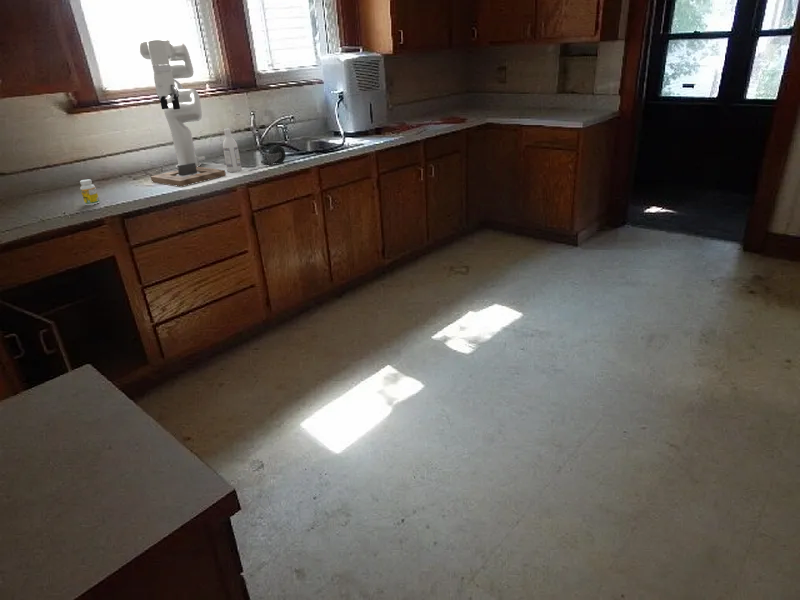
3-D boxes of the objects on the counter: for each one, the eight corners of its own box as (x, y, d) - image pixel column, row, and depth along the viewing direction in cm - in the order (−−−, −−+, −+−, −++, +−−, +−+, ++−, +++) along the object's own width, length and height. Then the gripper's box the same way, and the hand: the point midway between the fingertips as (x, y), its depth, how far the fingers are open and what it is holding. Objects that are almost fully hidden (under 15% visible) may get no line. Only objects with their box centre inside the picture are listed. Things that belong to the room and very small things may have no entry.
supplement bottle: (102, 203, 216) (95, 179, 212) (89, 206, 212) (81, 182, 208) (95, 201, 219) (88, 178, 215) (82, 204, 215) (75, 181, 211)
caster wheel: (280, 163, 278) (258, 166, 267) (279, 144, 275) (256, 146, 264) (288, 164, 275) (265, 167, 264) (286, 144, 272) (264, 146, 260)
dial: (173, 178, 252) (170, 164, 249) (196, 174, 258) (193, 161, 255) (180, 182, 244) (177, 167, 241) (204, 177, 250) (201, 163, 247)
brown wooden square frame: (196, 171, 266) (195, 166, 265) (225, 175, 253) (224, 169, 251) (152, 181, 249) (150, 175, 248) (180, 186, 236) (179, 180, 234)
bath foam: (240, 168, 266) (233, 127, 257) (243, 171, 260) (235, 128, 252) (226, 170, 263) (218, 128, 255) (228, 173, 258) (220, 130, 249)
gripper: (144, 70, 244) (153, 109, 251) (165, 69, 234) (174, 110, 241) (159, 69, 249) (168, 107, 256) (180, 68, 239) (188, 108, 247)
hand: (171, 109), depth 249 cm, fingers open, 9 cm apart
